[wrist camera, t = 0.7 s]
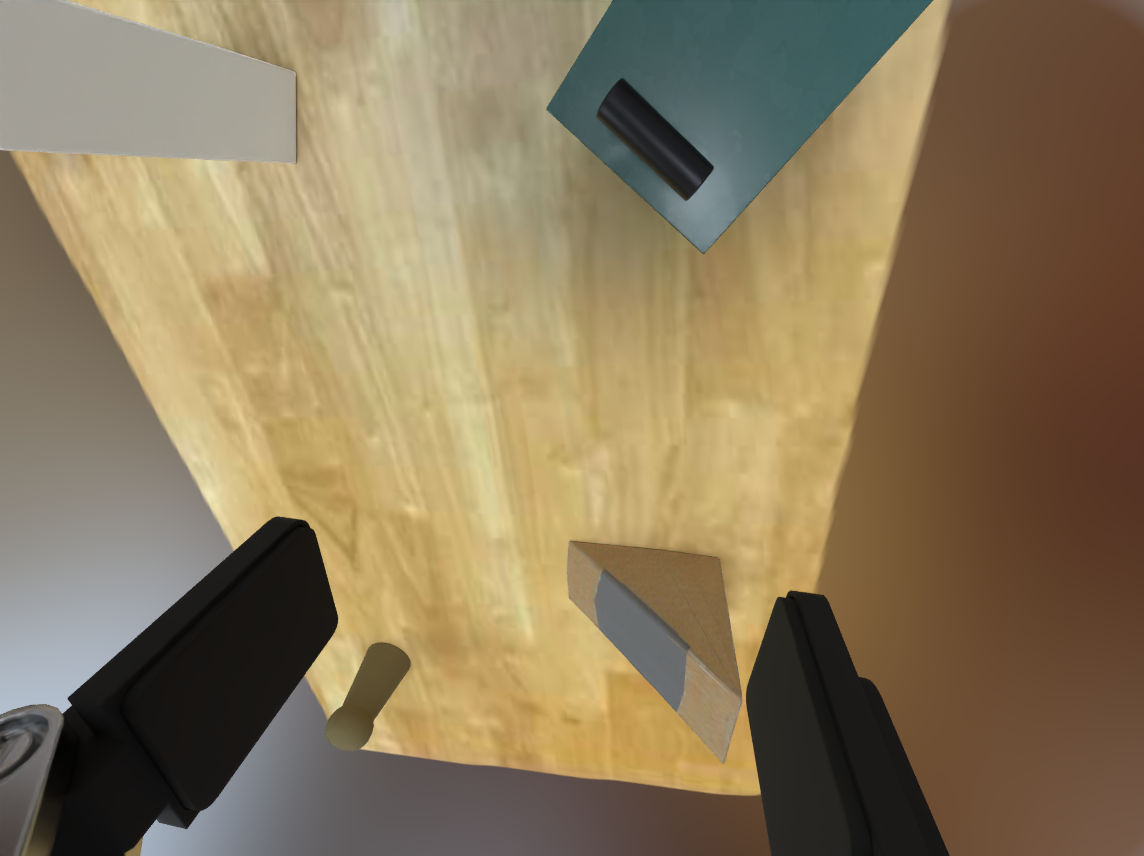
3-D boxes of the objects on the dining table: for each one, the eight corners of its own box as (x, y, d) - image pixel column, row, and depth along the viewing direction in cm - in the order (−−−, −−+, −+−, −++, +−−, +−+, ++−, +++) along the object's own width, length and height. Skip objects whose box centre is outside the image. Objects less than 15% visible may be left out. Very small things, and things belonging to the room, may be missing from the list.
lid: (702, 252, 27) (711, 268, 23) (548, 110, 25) (523, 95, 21) (945, -18, 21) (1029, -76, 16) (763, -235, 19) (798, -374, 14)
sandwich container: (567, 538, 49) (534, 668, 36) (720, 555, 47) (744, 700, 34) (567, 599, 53) (537, 735, 40) (708, 617, 51) (725, 768, 38)
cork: (418, 671, 64) (375, 758, 54) (382, 675, 66) (335, 760, 56) (395, 639, 62) (346, 725, 52) (359, 646, 64) (305, 729, 54)
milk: (297, 164, 37) (-98, 151, 18) (223, 140, 37) (-254, 101, 18) (297, 69, 34) (-181, -71, 15) (215, 43, 34) (-368, -131, 15)
